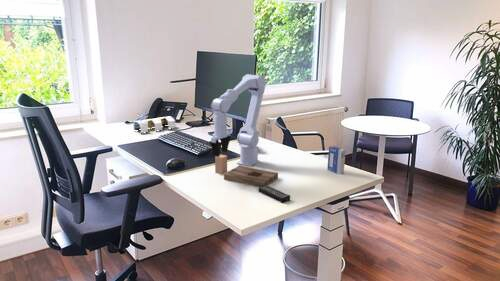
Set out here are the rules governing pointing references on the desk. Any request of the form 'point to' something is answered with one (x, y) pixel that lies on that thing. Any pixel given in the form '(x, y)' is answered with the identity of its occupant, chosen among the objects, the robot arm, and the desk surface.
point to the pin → (221, 164)
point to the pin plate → (251, 176)
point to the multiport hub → (274, 194)
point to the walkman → (336, 160)
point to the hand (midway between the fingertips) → (220, 153)
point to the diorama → (153, 123)
